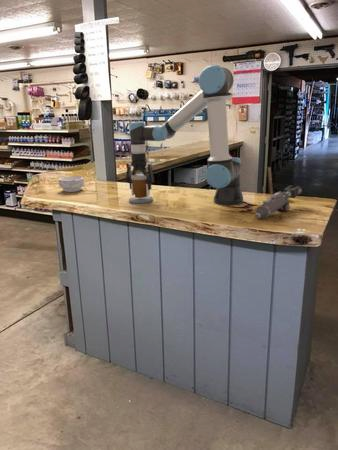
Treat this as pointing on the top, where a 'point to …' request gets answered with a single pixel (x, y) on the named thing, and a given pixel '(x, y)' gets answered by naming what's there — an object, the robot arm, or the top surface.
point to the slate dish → (140, 200)
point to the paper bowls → (71, 183)
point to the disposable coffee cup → (139, 185)
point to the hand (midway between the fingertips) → (140, 195)
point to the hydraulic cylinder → (277, 202)
